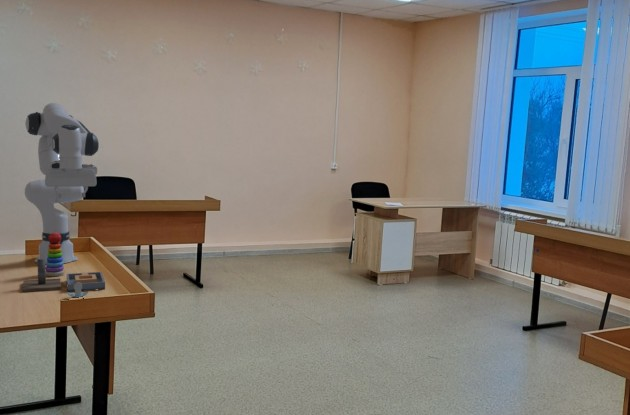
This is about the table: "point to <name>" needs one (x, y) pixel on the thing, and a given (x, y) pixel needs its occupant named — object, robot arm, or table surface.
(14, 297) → the table surface
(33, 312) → the table surface
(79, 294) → the pacifier
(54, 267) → the stacking toy
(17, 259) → the table surface
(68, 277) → the tray
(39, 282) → the post stand
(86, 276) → the light brown flat block
